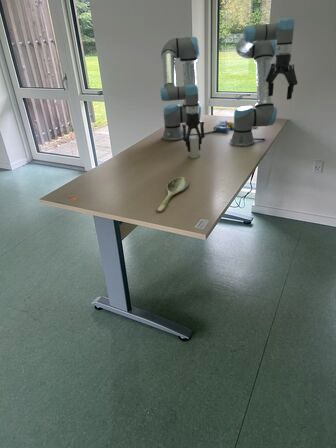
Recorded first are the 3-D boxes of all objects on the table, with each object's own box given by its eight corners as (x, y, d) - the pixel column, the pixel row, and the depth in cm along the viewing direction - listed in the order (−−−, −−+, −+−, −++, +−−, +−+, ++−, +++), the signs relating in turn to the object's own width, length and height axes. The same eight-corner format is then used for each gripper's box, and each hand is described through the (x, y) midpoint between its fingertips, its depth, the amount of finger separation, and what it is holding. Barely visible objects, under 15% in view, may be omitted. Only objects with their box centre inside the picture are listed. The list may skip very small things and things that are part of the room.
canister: (187, 156, 214) (186, 136, 207) (196, 153, 216) (195, 134, 209) (192, 158, 209) (191, 139, 202) (201, 156, 211) (200, 137, 204)
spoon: (170, 216, 152) (169, 212, 151) (148, 213, 156) (148, 209, 155) (192, 180, 179) (192, 176, 178) (173, 178, 182) (173, 175, 181)
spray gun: (238, 125, 262) (220, 124, 268) (238, 119, 260) (220, 119, 266) (230, 133, 247) (211, 133, 253) (230, 128, 244) (211, 127, 251)
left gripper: (179, 116, 193) (181, 154, 205) (210, 111, 197) (210, 149, 209) (175, 113, 199) (177, 151, 211) (205, 109, 203) (206, 146, 215)
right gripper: (260, 53, 178) (258, 95, 189) (297, 55, 159) (292, 101, 170) (271, 52, 181) (268, 93, 192) (308, 53, 162) (302, 99, 173)
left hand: (194, 150), depth 210 cm, fingers closed on canister, 6 cm apart
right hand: (279, 97), depth 181 cm, fingers open, 13 cm apart
